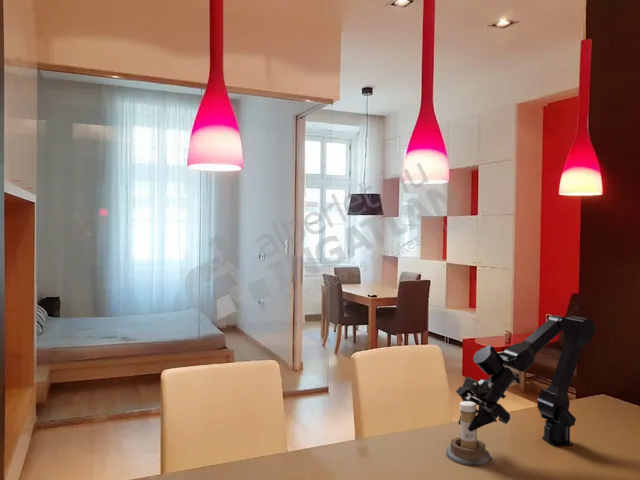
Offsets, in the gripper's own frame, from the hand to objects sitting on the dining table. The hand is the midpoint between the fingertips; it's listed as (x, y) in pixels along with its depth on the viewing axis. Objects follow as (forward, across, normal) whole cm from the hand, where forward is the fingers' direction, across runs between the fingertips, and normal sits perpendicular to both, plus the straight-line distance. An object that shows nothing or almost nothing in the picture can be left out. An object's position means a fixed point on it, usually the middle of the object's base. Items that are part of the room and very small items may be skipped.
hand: (464, 427), depth 146 cm
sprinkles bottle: (+4, 0, +6) cm, 7 cm away
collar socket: (+5, 0, +7) cm, 8 cm away
